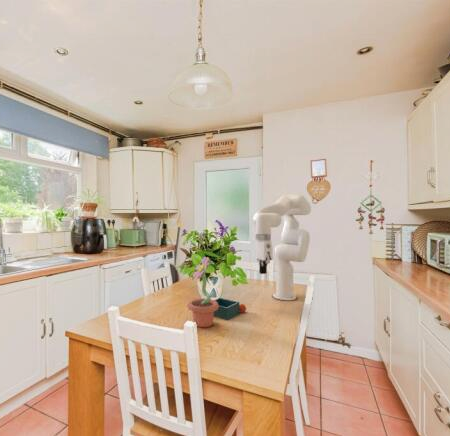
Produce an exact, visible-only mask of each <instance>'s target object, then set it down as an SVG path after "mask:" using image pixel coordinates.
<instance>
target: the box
mask: <svg viewBox="0 0 450 436" xmlns="http://www.w3.org/2000/svg"><path fill="white" fill-rule="evenodd" d="M213 300H214V301H216V302H217V303H218V305H219V307H218V309H217V310H216V311H214V317H216V318H219V319H223V320H226V321H227V320H230V319H232V318H234V317H235V316H236V315H239V314H240V311H239V305H240V301H236V300H232V299H228V298H223V297H217V298H216V299H213Z"/></svg>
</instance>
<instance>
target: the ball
mask: <svg viewBox="0 0 450 436" xmlns="http://www.w3.org/2000/svg"><path fill="white" fill-rule="evenodd" d="M246 311H247V307H246V305H245V304H244V303H239V313H245V312H246Z"/></svg>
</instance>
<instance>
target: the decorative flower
mask: <svg viewBox="0 0 450 436" xmlns="http://www.w3.org/2000/svg"><path fill="white" fill-rule="evenodd" d="M200 262H201V264H197V266H195V269H194V271H195V272H194V273H193V275H192V277H193V278H194V280H198V279H200V278H201V280H202V283H201V292H202V294H203V295H204V296H205V297H206V298H195V299H192V300H190V301H189V302H188V303H187V309H188V310H189V311H190V312H192V322H193V321H194V322H196V324H197V326H196V327H199V328H209V327H211V326H213V324H214V319H215V318H214V317H215V316H214V311H216V310H217V309H218V307H219V305H218V303H217V302H216V301H214V300H215V299H211V298H212V297H215V296H216V294H212V295H211V294H210V293H209V292H208V291H207V275H206V272H207V271H206V269H207V267H210V265H211V261H210V258H209V256H207V257H206V256H203V257H202V258H201V261H200ZM194 322H193V323H194Z"/></svg>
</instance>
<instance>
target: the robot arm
mask: <svg viewBox="0 0 450 436" xmlns="http://www.w3.org/2000/svg"><path fill="white" fill-rule="evenodd" d="M311 212H312V206H311V203H310V201H309V200H308V199H307V198H306V197H305V196H304V195H303V194H300V193H295V194H284V195H281V196H280V197H279V198H278V199H277V200H276V201H275V202H274V203H272V204H269V205H267V206H264V207H262V208H260V209H259V210H258V211H256V212H255V214H254V216H253V219H252V221H253V225H254V226H255V245H254V256H255V258H256V261H258V265H259V271H258V272H259V274H262V275H267V272H268V270H267V269H268V265H269V264H270V263H271V261H273V260H274V258H275V263H276V264H275V274H276V275H275V278H276V279H275V293H273V296H272V297H273V298H274V299H276V300H280V301H295V300H297V296H296V295H295V294H294V291H295V289H294V267H293V265H292V263H291V262H295V263H303V262H305V261H306V259H307V255H308V250H309V245H310V239H311V238H310V237H311V236H310V232H309V231H308V230H306V229H300V228H299V227H300V223H299V221H298V220H297V218H296V217H295V216H308V215H309V214H310V213H311ZM282 217H283V221H284V224H283V227H282V232H281V236H280V240H281V244H277V245H276V246H275V248H274V250H273V242H272V228H279V226H281V224H282ZM273 251H274V253H273ZM274 256H275V257H274Z"/></svg>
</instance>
